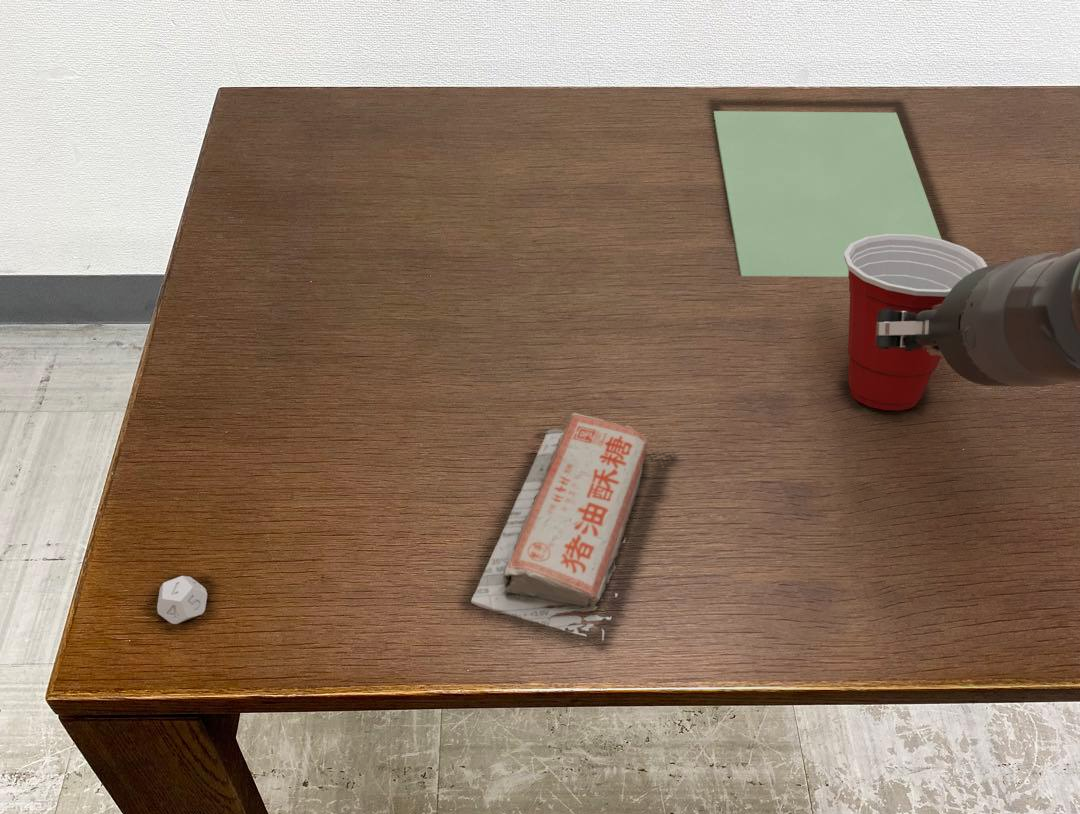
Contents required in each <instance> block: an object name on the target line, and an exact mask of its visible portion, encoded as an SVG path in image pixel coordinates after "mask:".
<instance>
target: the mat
mask: <svg viewBox="0 0 1080 814" xmlns="http://www.w3.org/2000/svg"><path fill="white" fill-rule="evenodd" d="M713 113H714V115H713V120H715V121H714V125H715V126H714V127H715V133H716V139H717V145H718V151H719V156H720V162H721V167H722V175H723V181H724V186H725V193H726V199H727V205H728V211H729V216H730V223H731V228H732V234H733V240H734V246H735V247H734V248H735V252H736V259H737V265H738V269H739V276H740V277H801V278H803V277H805V278H806V277H809V278H811V277H814V278H816V277H819V278H821V277H823V278H849V277H848V274H849V270H848V267H847V264H846V262H845V259H844V253H845V251H846V249H847V248H848V246H849V245H850V244H851V243H853V242H856V241H858V240H860V239H862V238H865V237H870V236H877V235H884V234H908V235H919V236H925V237H931V238H936V239H942V236H941V233H940V232H939V228H938V225H937V223H936V222H937V221H936V220H935V217H934V214H933V211H932V209H931V206H930V203H929V200H928V198H927V197H928V196H927V194H926V192H925V189H924V185H923V183H922V181H921V178H920V174H919V172H918V169H917V166H916V163H915V161H914V158H913V155H912V152H911V149H910V147H909V144H908V141H907V139H906V135H905V133H904V129H903V127H902V124H901V121H900V119H899V116H898V113H897V112H886V111H885V112H878V111H877V112H871V111H870V112H869V111H867V112H865V111H862V112H861V111H859V112H858V111H765V110H763V111H758V110H757V111H753V110H751V111H749V110H748V111H747V110H745V111H744V110H742V111H741V110H713Z"/></svg>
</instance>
